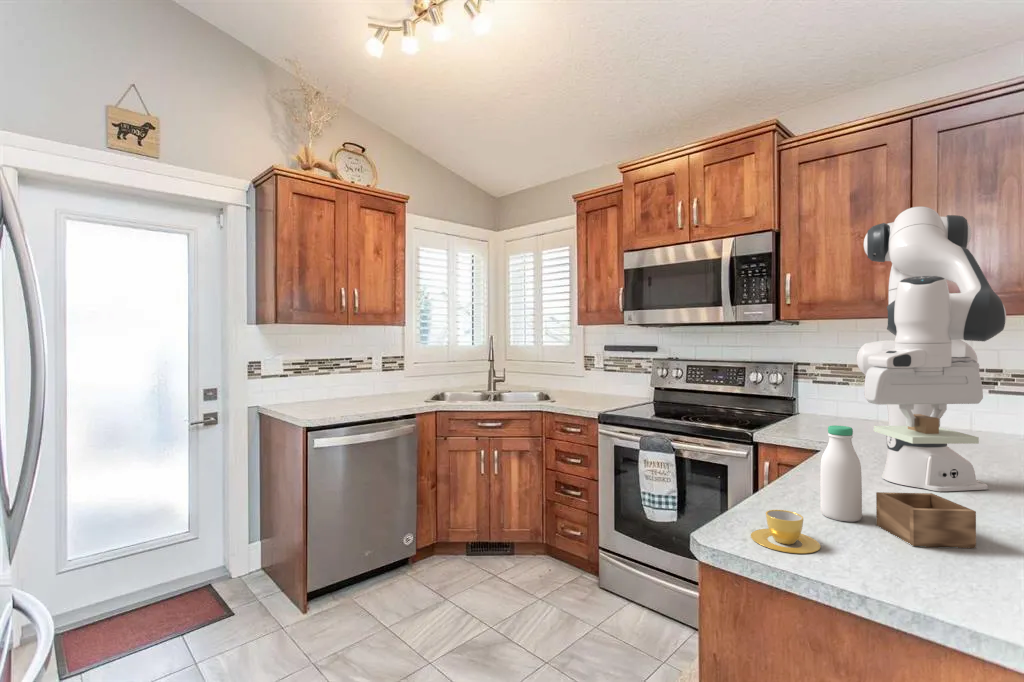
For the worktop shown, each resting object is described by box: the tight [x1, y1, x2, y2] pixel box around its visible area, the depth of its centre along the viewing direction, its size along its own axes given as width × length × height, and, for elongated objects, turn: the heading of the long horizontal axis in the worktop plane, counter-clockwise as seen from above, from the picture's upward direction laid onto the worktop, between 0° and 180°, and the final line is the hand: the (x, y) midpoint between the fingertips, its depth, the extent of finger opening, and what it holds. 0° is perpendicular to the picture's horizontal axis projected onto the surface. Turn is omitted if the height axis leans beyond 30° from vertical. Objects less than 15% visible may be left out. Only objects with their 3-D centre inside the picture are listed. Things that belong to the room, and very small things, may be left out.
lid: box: [873, 414, 980, 445], centre depth 100 cm, size 12×12×4 cm
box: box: [875, 491, 977, 549], centre depth 100 cm, size 11×11×7 cm
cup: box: [750, 509, 821, 554], centre depth 98 cm, size 12×12×5 cm
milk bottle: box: [819, 425, 863, 523], centre depth 111 cm, size 8×8×20 cm
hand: (922, 426), depth 100 cm, fingers closed on lid, 2 cm apart
